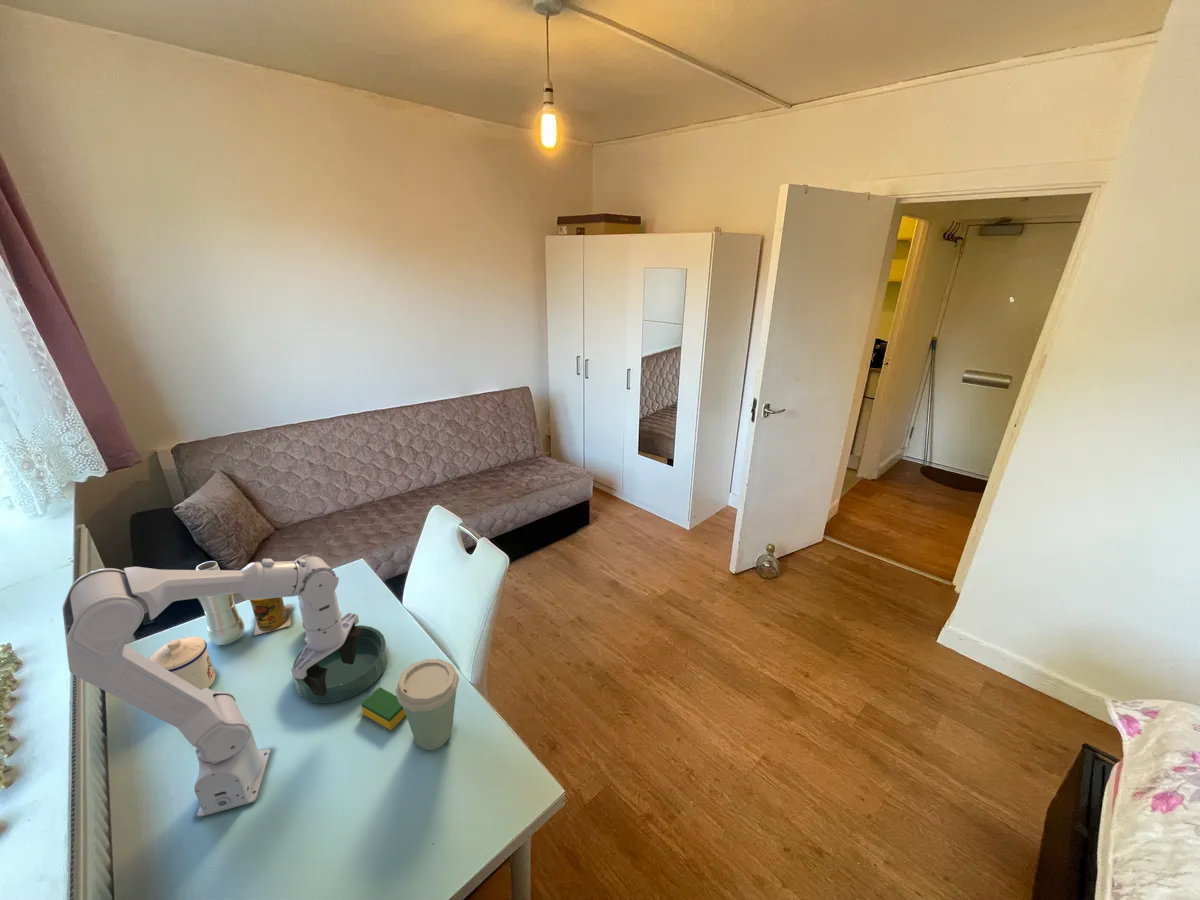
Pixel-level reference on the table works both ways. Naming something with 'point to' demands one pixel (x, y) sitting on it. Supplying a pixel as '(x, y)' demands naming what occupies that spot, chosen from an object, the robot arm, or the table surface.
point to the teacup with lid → (187, 661)
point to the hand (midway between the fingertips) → (334, 677)
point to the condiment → (270, 614)
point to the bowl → (350, 669)
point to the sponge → (383, 708)
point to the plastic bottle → (221, 614)
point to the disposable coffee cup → (429, 700)
